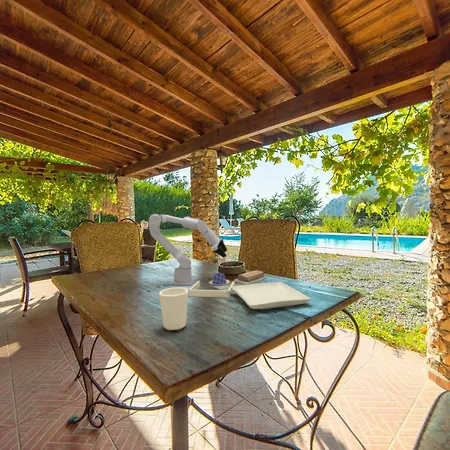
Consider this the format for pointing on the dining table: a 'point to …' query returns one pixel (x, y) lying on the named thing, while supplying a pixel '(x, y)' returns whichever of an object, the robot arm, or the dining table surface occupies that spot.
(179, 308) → the cup
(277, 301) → the square plate
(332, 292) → the dining table surface
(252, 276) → the packaged product
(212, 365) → the dining table surface
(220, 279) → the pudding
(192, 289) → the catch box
